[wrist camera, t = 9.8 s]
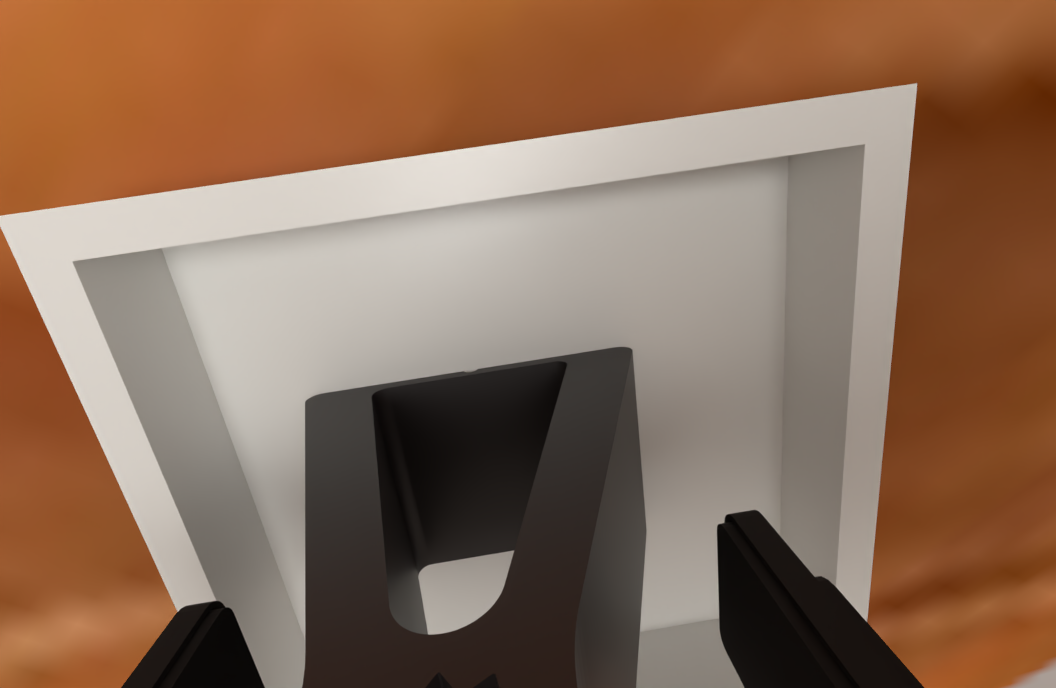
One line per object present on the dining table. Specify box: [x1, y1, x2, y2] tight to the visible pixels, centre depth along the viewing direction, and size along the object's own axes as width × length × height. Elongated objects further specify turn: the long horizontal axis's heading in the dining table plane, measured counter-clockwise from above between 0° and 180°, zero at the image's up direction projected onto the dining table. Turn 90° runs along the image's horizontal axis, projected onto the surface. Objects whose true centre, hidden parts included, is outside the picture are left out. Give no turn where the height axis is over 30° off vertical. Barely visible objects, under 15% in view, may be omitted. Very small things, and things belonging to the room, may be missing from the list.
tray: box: [0, 83, 917, 688], centre depth 14 cm, size 18×17×4 cm
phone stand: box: [302, 347, 647, 688], centre depth 9 cm, size 9×6×12 cm, turn 98°
